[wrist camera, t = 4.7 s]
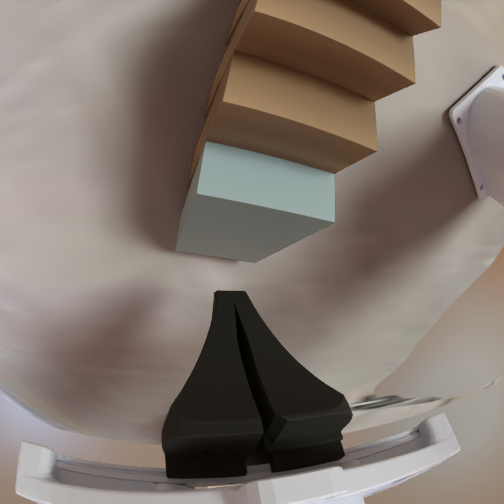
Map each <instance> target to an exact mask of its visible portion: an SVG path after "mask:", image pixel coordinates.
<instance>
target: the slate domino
mask: <svg viewBox="0 0 504 504" xmlns="http://www.w3.org/2000/svg"><path fill="white" fill-rule="evenodd" d="M333 223H335V185H334V174H333V173H329V172H326V171H323V170H320V169H316V168H313V167H309V166H306V165H302V164H299V163H295V162H292V161H288V160H284V159H281V158H277V157H273V156H269V155H265V154H261V153H257V152H253V151H249V150H245V149H240V148H236V147H232V146H227V145H223V144H218V143H213V142H208V141H206V143H205V145H204V148H203V151H202V154H201V156H200V159H199V162H198V165H197V168H196V171H195V174H194V177H193V179H192V182H191V185H190V188H189V191H188V195H187V198H186V201H185V204H184V207H183V210H182V213H181V216H180V220H179V227H178V233H177V240H176V247H175V251H180V252H186V253H193V254H199V255H206V256H212V257H219V258H225V259H232V260H239V261H245V262H252V263H256V262H258V261H260V260H262V259H264V258H266V257H268V256H270V255H272V254H274V253H276V252H278V251H280V250H282V249H284V248H286V247H288V246H290V245H292V244H294V243H296V242H297V241H299V240H301V239H303V238H305V237H307V236H309V235H311V234H313V233H315V232H317V231H319V230H321V229H323V228H325V227H327V226H329V225H331V224H333Z"/></svg>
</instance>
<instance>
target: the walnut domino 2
mask: <svg viewBox="0 0 504 504" xmlns="http://www.w3.org/2000/svg"><path fill="white" fill-rule="evenodd" d="M234 51H239V52H243V53H246V54H250V55H254V56H257V57H261V58H264V59H267V60H271V61H274V62H277V63H280V64H283V65H286V66H289V67H292V68H295V69H298V70H301V71H303V72H306V73H309V74H311V75H314V76H317V77H319V78H322V79H324V80H327V81H329V82H332V83H334V84H336V85H339V86H341V87H344V88H346V89H348V90H350V91H353V92H355V93H357V94H359V95H361V96H363V97H366V98H368V99H370V100H372V101H374V102H375V101H377V100H379V99H381V98H383V97H386V96H388V95H390V94H392V93H395V92H397V91H399V90H401V89H404V88H406V87H408V86H411V85H413V84H415V63H414V49H413V38H412V36H411V35H409V34H408V33H406V32H405V31H403V30H402V29H400V28H398V27H397V26H395V25H394V24H392V23H390V22H389V21H387V20H385V19H384V18H382V17H380V16H378V15H377V14H375V13H373V12H371V11H370V10H368V9H366V8H364V7H362V6H360V5H358V4H356V3H354V2H352V1H350V0H250V2H249V3H248V5H247V8H246V10H245V12H244V14H243V16H242V18H241V20H240V22H239V24H238V26H237V28H236V30H235V33H234V35H233V37H232V39H231V41H230V44H229V46H228V48H227V50H226V53H225V55H224V57H223V60H222V62H221V64H220V67H219V69H218V71H217V74H216V76H215V79H214V81H213V84H212V87H211V91H210V95H209V98H208V102H207V106H206V110H205V114H204V118H207V117H208V114H209V111H210V109H211V106H212V104H213V101H214V99H215V96H216V93H217V91H218V88H219V86H220V84H221V81H222V79H223V76H224V74H225V71H226V69H227V67H228V64H229V62H230V60H231V57H232V55H233V53H234Z"/></svg>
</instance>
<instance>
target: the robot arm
mask: <svg viewBox="0 0 504 504" xmlns="http://www.w3.org/2000/svg"><path fill="white" fill-rule="evenodd" d="M449 117H450V120H451V122H452V124H453V127H454V129H455V132H456V134H457V137H458V139H459V142H460V144H461V147H462V150H463V152H464V155H465V158H466V161H467V164H468V167H469V170H470V173H471V176H472V179H473V182H474V185H475V189H476V192H477V196H478V198H479V199H481V200H483V199H485V198H486V197H487V195H490V196H491V197H492V198H494V199H495V200H496V201H498V202H499V203H500V204H502V205H503V206H504V68H503V67H502V66H500V65H497V66H496V67H495V68H494V69H493V70H492V71H491V72H490V73H489V74H488V75H486V76H485V77H484V78H483V79H482V80H481V81H480V82H479V83H478V84H477V85H476V86H475V87H474V88H473V89H471V90H470V91H469V92H468V93H467V94H466V95H465V96H464V97H463V98H462V99H461V100H460V101H458V102H457V103H456V104H455V105H454V106H453V107H452V108H451V109H450V111H449ZM457 118H458V121H457ZM352 416H353V414H352V412H351V409H350V406H349V404H348V402H347V400H346V399H345V397H344V395H343V394H341V393H340V392H338V391H336V390H335V389H333V388H331V387H330V386H328V385H327V384H325V383H324V382H322V381H321V380H319V379H318V378H317V377H315V376H314V375H313V374H312V373H311V372H309V371H308V370H307V369H306V368H305V367H303V366H302V365H301V364H300V363H299V362H298V361H297V360H296V359H295V358H294V357H293V356H292V355H291V354H290V353H289V352H288V351H287V350H286V349H285V348H284V347H283V346H282V345H281V343H280V342H279V341H278V340H277V339H276V337H275V336H274V335H273V334H272V332H271V331H270V330H269V328H268V327H267V325H266V324H265V322H264V321H263V320H262V318H261V317H260V315H259V314H258V312H257V310H256V309H255V307H254V305H253V304H252V302H251V300H250V298H249V296H248V295H247V293H246V292H245V291H216V292H214V302H213V313H212V321H211V325H210V329H209V332H208V335H207V338H206V341H205V344H204V346H203V349H202V351H201V354H200V356H199V358H198V360H197V363H196V365H195V367H194V369H193V371H192V373H191V375H190V376H189V378H188V380H187V382H186V383H185V385H184V387H183V389H182V390H181V392H180V393H179V395H178V396H177V398H176V399H175V401H174V402H173V404H172V405H171V407H170V410H169V412H168V415H167V417H166V420H165V422H164V426H163V429H162V448H163V451H164V454H165V461H166V468H150V467H136V466H126V465H116V464H109V463H101V462H95V461H89V460H82V459H78V458H72V457H67V456H62V455H58V454H56V453H55V452H54V451H53V450H52V449H50V448H48V447H46V446H43V445H39V444H35V443H31V442H28V441H24V440H23V441H21V447H20V453H19V461H18V468H17V477H16V487H15V492H16V494H19V495H21V496H23V497H25V498H27V499H29V500H32V501H34V502H36V503H39V504H365V502H364V499H363V498H365V497H367V496H370V495H373V494H375V493H378V492H381V491H383V490H386V489H388V488H390V487H393V486H395V485H397V484H400V483H402V482H404V481H406V480H409V479H411V478H413V477H415V476H417V475H419V474H421V473H423V472H425V471H427V470H429V469H431V468H433V467H435V466H437V465H438V464H440V463H441V462H443V461H445V460H446V459H448V458H449V457H451V456H453V455H454V454H455V453H457V452H459V451H460V449H461V448H460V446H459V444H458V442H457V439H456V437H455V435H454V433H453V431H452V429H451V427H450V425H449V423H448V420H447V418H446V416H445V414H444V413H443V412H441V413H439V414H436V415H434V416H431V417H429V418H427V419H425V420H424V421H422V422H421V423H420V424H419V425H418V426H417V427H415V428H412V429H410V430H407V431H404V432H401V433H398V434H395V435H392V436H389V437H386V438H383V439H380V440H377V441H374V442H370V443H367V444H363V445H360V446H356V447H352V448H348V449H344V450H343V447H342V444H341V441H340V440H342V439H343V437H342V433H341V430H342V429H343V428H344V427H345V426H346V425H347V424H348V423H349V422H350V420H351V419H352ZM238 484H242V485H238ZM224 485H235V486H227V487H219V488H209V489H197V490H195V488H194V487H200V486H224Z"/></svg>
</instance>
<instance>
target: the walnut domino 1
mask: <svg viewBox="0 0 504 504" xmlns="http://www.w3.org/2000/svg"><path fill="white" fill-rule="evenodd" d="M350 1H352V2H354V3H356V4H358V5H360V6H362V7H364V8H366V9H368V10H370V11H371V12H373V13H375V14H377V15H378V16H380V17H382V18H384V19H385V20H387V21H389V22H390V23H392V24H394V25H395V26H397V27H398V28H400V29H402V30H403V31H405V32H406V33H408V34H409V35H411V36H414V35H417V34H420V33H423V32H427V31H430V30H433V29H437V28H441V0H350ZM249 2H250V0H242V1H241V3H240V5H239V7H238V9H237V11H236V13H235V15H234V18H233V21H232V24H231V27H230V31H229V34H228V37H227V40H226V43H225V45H226V46H229V44H230V41H231V39H232V37H233V35H234V33H235V30H236V28H237V26H238V24H239V22H240V20H241V18H242V16H243V14H244V12H245V10H246V8H247V5H248V3H249Z"/></svg>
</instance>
